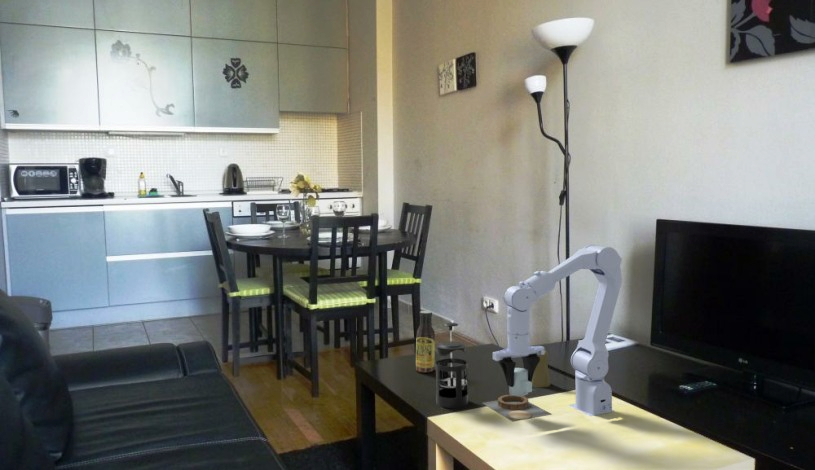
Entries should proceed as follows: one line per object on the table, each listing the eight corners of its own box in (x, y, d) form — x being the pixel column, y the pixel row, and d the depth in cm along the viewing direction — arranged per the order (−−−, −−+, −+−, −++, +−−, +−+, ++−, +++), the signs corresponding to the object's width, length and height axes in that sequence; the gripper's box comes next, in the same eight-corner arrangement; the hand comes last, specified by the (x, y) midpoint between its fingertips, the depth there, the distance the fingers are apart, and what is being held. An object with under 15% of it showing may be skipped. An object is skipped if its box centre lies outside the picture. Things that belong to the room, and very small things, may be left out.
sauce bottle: (413, 372, 210) (412, 313, 209) (418, 367, 216) (417, 309, 215) (432, 374, 209) (431, 313, 207) (437, 368, 215) (436, 310, 213)
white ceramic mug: (505, 391, 168) (505, 369, 168) (521, 389, 170) (521, 367, 169) (521, 400, 161) (520, 377, 161) (537, 397, 163) (537, 374, 162)
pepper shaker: (549, 383, 196) (548, 347, 195) (551, 389, 190) (551, 352, 189) (529, 383, 196) (528, 347, 196) (531, 389, 190) (530, 352, 190)
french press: (476, 407, 175) (474, 325, 174) (445, 413, 172) (443, 328, 170) (457, 395, 186) (455, 317, 184) (427, 400, 182) (425, 320, 181)
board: (552, 416, 167) (552, 408, 167) (512, 423, 163) (512, 416, 163) (518, 398, 182) (518, 391, 182) (481, 404, 177) (481, 397, 177)
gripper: (533, 327, 172) (534, 376, 173) (486, 332, 166) (487, 384, 167) (549, 332, 165) (549, 383, 166) (500, 338, 160) (501, 391, 161)
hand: (519, 384), depth 166 cm, fingers closed on white ceramic mug, 5 cm apart
